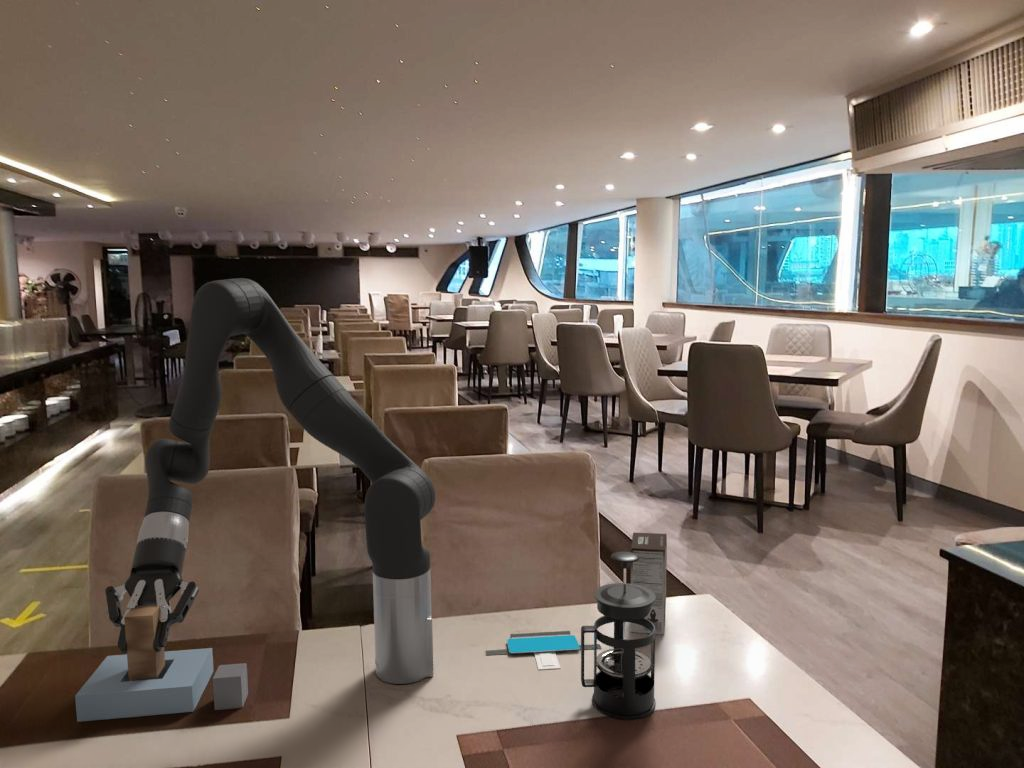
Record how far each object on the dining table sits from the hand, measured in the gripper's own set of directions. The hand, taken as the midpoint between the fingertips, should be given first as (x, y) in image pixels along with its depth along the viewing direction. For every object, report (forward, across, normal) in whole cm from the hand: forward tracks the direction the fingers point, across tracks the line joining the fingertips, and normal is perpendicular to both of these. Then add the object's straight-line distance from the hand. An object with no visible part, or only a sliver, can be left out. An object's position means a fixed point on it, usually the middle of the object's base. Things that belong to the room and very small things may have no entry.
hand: (141, 650), depth 110 cm
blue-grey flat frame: (+4, 0, +7) cm, 8 cm away
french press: (+14, +71, -3) cm, 73 cm away
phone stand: (+3, +63, +10) cm, 64 cm away
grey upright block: (+7, +13, +4) cm, 16 cm away
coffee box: (-3, +84, +15) cm, 85 cm away
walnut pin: (+2, 0, +5) cm, 5 cm away
